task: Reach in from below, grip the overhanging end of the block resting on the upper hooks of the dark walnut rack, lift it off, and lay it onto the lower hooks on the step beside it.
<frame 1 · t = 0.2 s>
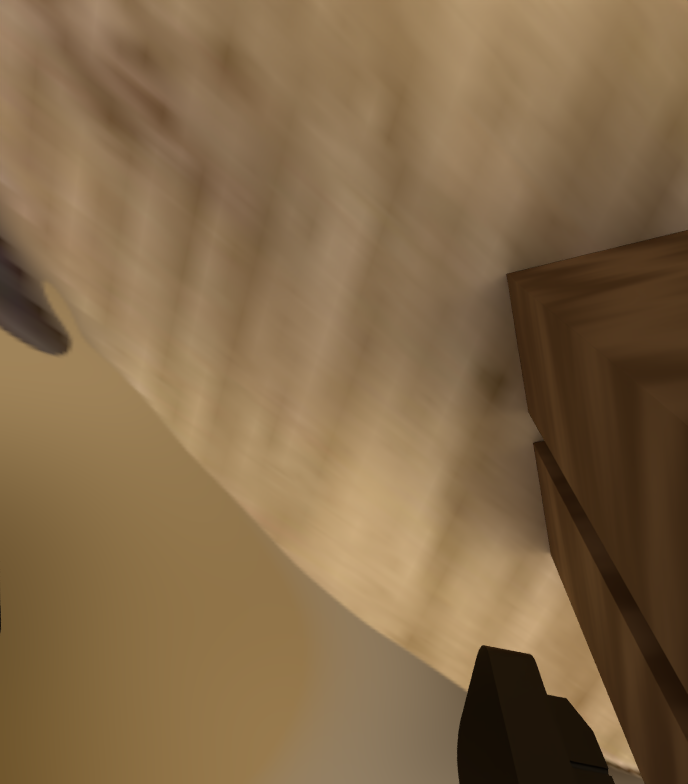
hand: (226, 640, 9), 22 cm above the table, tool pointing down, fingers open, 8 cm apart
rack: (680, 399, 29), on the table
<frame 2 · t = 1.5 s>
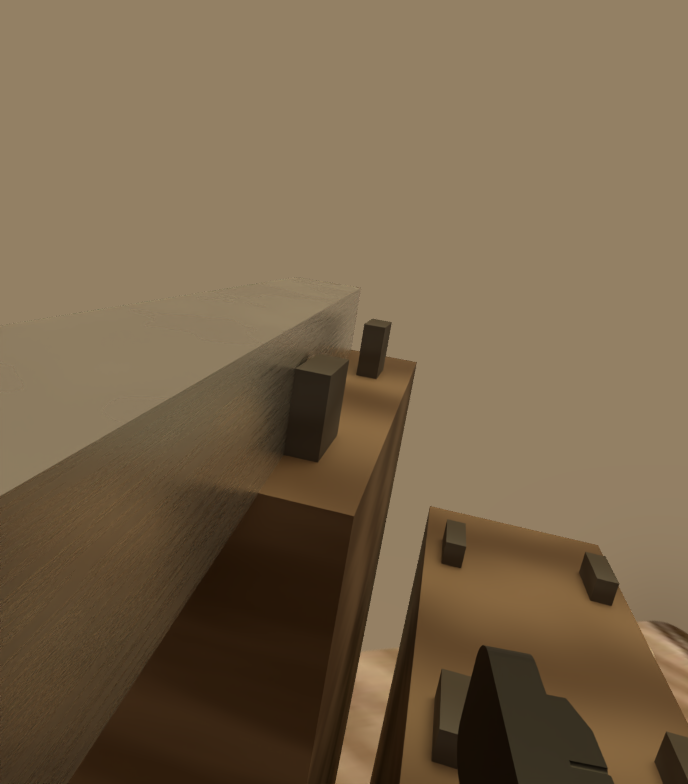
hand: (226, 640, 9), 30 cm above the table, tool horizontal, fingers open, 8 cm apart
block: (237, 424, 13), point 32 cm above the table, touching rack
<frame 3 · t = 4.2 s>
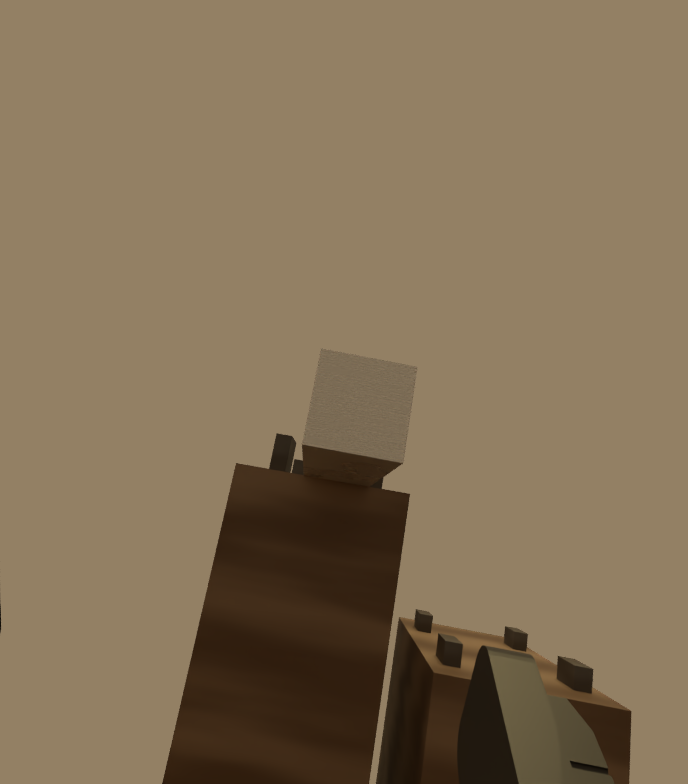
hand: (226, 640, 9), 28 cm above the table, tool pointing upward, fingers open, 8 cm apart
block: (332, 486, 27), point 32 cm above the table, touching rack
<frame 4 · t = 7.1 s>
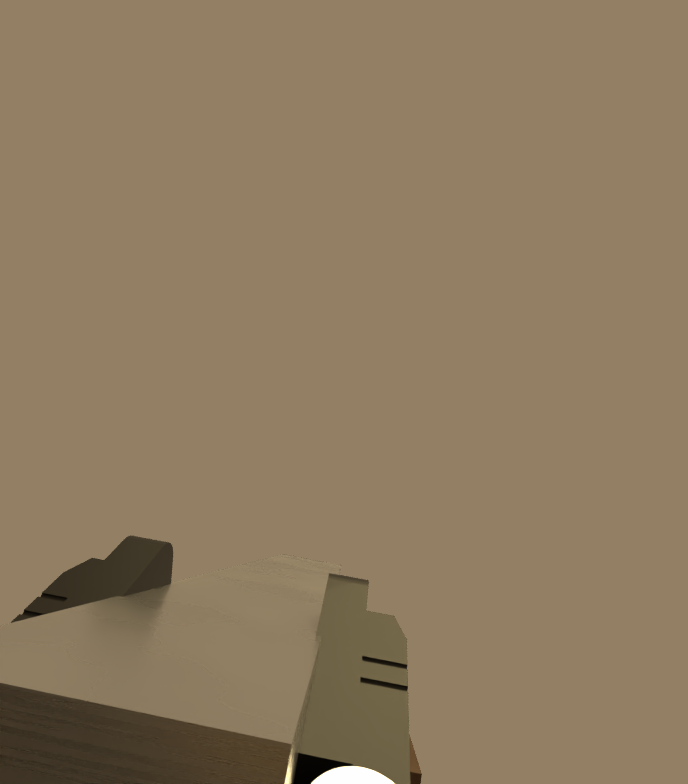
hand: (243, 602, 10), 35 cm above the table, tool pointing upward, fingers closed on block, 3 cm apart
block: (261, 690, 14), point 32 cm above the table, touching gripper
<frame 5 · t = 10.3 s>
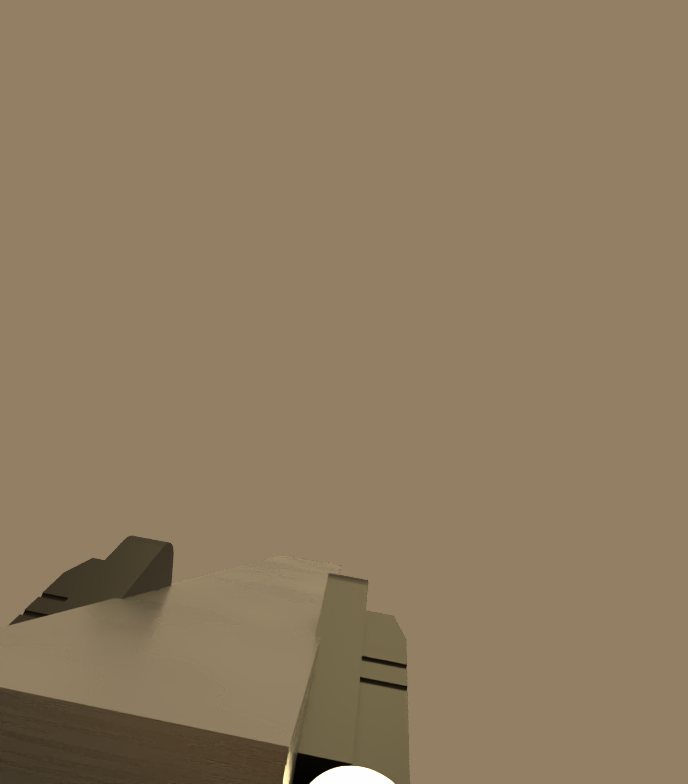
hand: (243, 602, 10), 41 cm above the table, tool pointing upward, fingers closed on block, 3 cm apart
block: (261, 691, 14), point 38 cm above the table, touching gripper
when the fingers open (29 cm above the table, at t = 13.4 s): block drops 1 cm, resting on rack.
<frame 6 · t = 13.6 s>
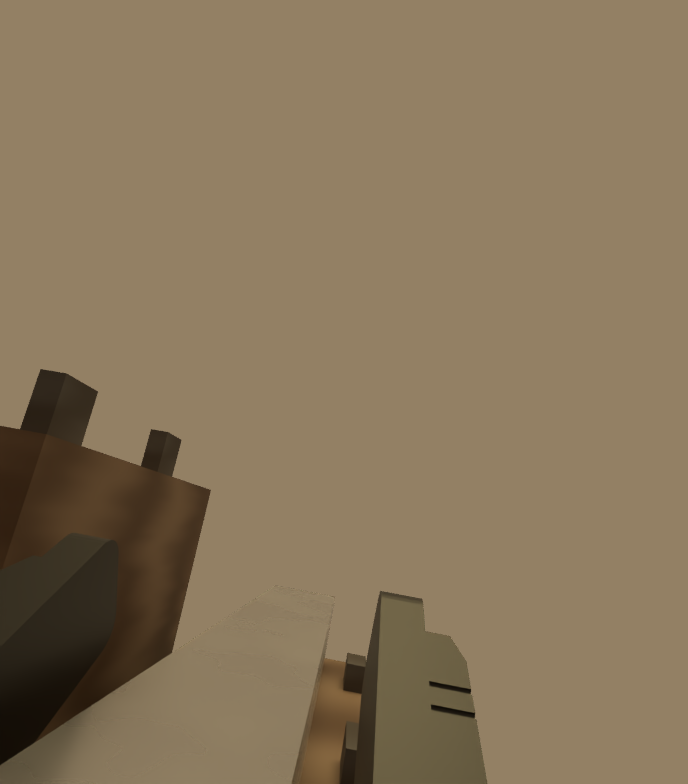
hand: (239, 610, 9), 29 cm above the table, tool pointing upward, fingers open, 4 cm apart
block: (245, 757, 14), point 25 cm above the table, touching rack
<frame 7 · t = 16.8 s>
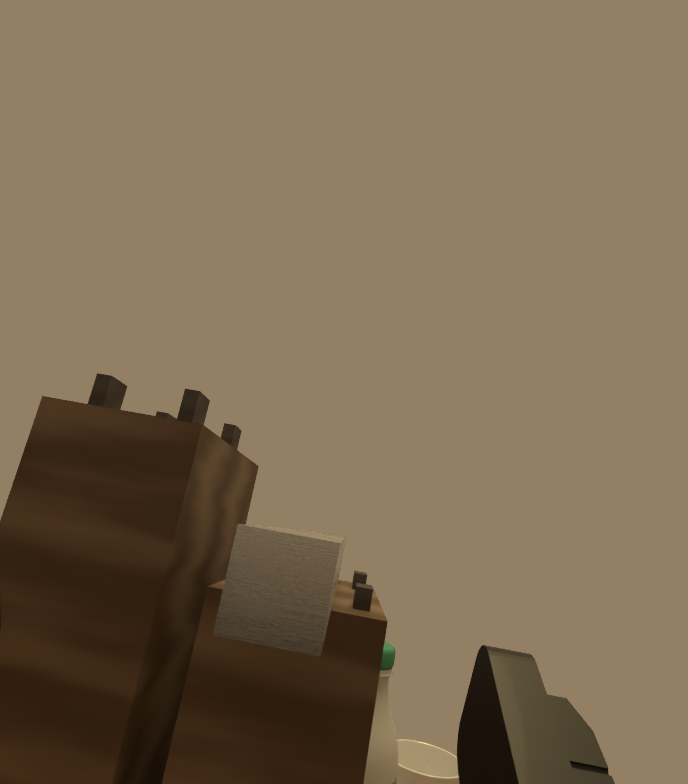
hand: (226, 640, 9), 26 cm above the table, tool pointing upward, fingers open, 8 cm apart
block: (303, 596, 26), point 25 cm above the table, touching rack
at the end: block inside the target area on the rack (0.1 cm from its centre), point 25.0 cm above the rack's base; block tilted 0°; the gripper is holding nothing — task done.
